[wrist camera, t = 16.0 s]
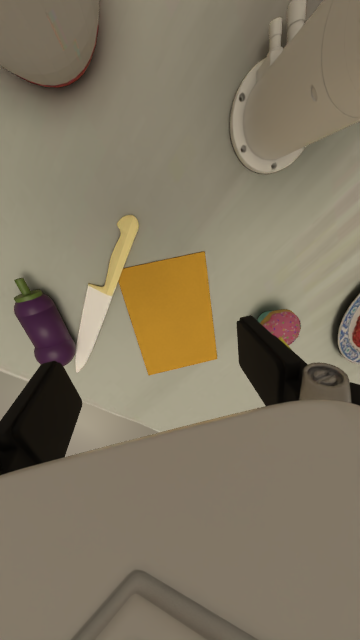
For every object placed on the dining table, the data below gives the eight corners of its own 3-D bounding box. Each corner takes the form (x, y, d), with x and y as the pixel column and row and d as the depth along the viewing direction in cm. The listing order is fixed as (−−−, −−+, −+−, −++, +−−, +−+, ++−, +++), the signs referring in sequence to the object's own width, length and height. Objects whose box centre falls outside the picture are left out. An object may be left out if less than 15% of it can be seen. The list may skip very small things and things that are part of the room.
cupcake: (255, 343, 47) (287, 379, 37) (242, 314, 44) (274, 345, 33) (289, 325, 47) (332, 356, 36) (279, 294, 43) (324, 319, 32)
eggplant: (16, 276, 35) (-21, 289, 29) (49, 270, 33) (17, 283, 28) (59, 354, 42) (36, 376, 36) (87, 352, 41) (68, 375, 35)
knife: (60, 368, 42) (82, 377, 43) (111, 204, 31) (140, 219, 31) (64, 364, 43) (85, 373, 44) (114, 206, 32) (142, 220, 33)
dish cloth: (115, 270, 36) (114, 270, 36) (204, 251, 37) (204, 251, 36) (148, 374, 47) (148, 375, 46) (216, 358, 48) (217, 358, 47)
